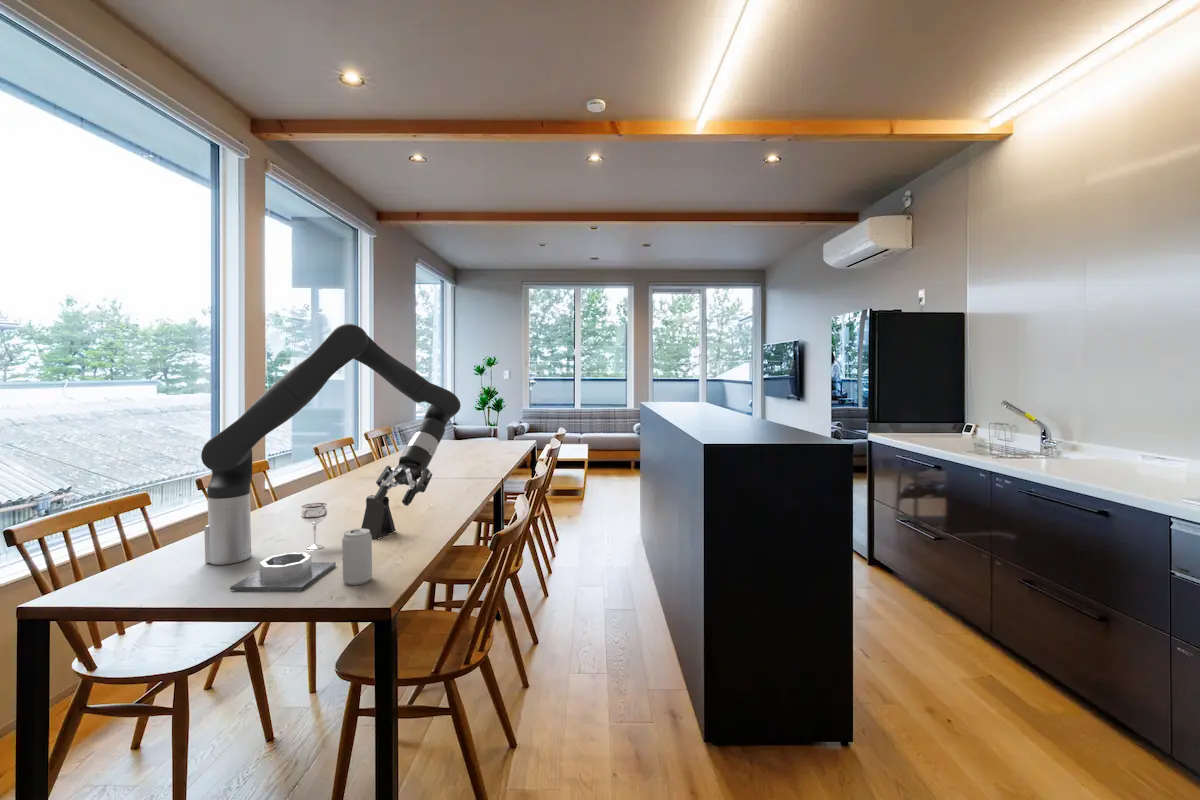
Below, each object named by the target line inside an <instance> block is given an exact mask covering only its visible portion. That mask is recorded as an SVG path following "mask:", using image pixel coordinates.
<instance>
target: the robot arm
mask: <svg viewBox="0 0 1200 800" xmlns="http://www.w3.org/2000/svg"><path fill="white" fill-rule="evenodd" d="M366 332H367V331H365V330H364V329H363V328H362V327H361V326H359V325H357V324H354V323H344V324H340V325H337V327H335V328H334V329H333V330H332V332H331V333H330V334H329V335H328V336H327V338H326V339H325V340H324V341H322V343H321V344H320V345H319V346H318V348H317V349H315V350H314V351H313V352H312V353H311V354H310V355H309V356H308V357H307V358H305V359H303V360H301V362H299V363H297V365H295V366H294V367H293V368H292V369H289V371H287V372H286V373H285V374H284V375H283V376H281V377H280V378H279V379H278V380H276V381H275V382H274V383H273V384H272V385H271V386H270V387H269V388H268V389H267V390H266V391H265V392H264V393H262V395H261V396H259V398H258V399H257V400H256V401H255V402H253V403H252V404H251V405H250V407H248V409H246V411H245V412H243V414H242V415H241V416H240V417H239V418H237V420H236V421H234V422H233V423H231V424H230V425H228V426H227V427H226V428H225V429H223V430H222V431H220V432H219V433H217V434H216V435H214V436H213V437H212V438H210V439H209V440H208V441H207V442H206V443H205V444H204V446H203V448H202V450H201V455H200V457H201V462H202V464H203V465H204V467H206V468H207V469H209V470H210V471H211V479H210V482H209V483H208V486H207V489H206V490H207V491H206V493H207V494H206V496H207V520H208V521H207V524H206V525H205V526H204V527H203V530H204V562H205V563H207V564H211V565H215V566H217V565H219V566H220V565H221V566H223V565H230V564H236V563H240V562H243V561H246V560H248V559H250V558H251V557H252V527H251V526H252V525H251V523H252V522H251V519H252V518H251V493H250V492H251V483H252V480H253V448H254V447H255V445H256V444H258V443H259V442H260V441H261V440H262V439H263V438H264V437H265V436H266V435H268V434H269V433H271V432H273V431H274V430H275V429H277V428H279V427H280V426H281V425H283V424H285V423H286V422H287V421H289V420H290V419H291V418H293V417H294V416H295V415H296V414H297V413H299V412H300V411H302V409H303V408H304V407H306V405H308V404H309V403H310V401H312V400H313V399H314V398H315V397H316V396H317V394H318V393H319V392H321V390H322V388H323V387H324V386H325V385H326V384H327V382H328V381H329V380H330V378H331V377H333V375H334V374H335V373H336V372H337V371H339V370H340V369H342V368H343V367H344V366H345V365H347V364H348V363H349V362H351V361H352V360H355V361H357V362H359V363H361V364H363V365H364V366H367V368H370V369H371V370H373V371H374V372H375V373H377V374H378V375H379V376H380V377H382V379H384V380H385V381H386V382H387V383H389V384H390V385H391V386H392V387H393V388H395V389H396V390H397V391H399V392H400V393H401V394H403V395H404V396H406V397H407V398H409V399H410V400H412V401H413V402H415V403H417V404H420V403H428V404H430V405H429V406H428V408H427V410H426V411H425V415H424V416H423V420H422V422H421V423H420V425H419V426H418V428H417V430H416V432H415V433H414V435H413V436H412V437H411V438H410V439H409V442H408V443H407V445H406V446H405V448H404V450H403V451H402V453H401V455H400V457H399V460H398V465H397V466H396V467H392V466H390V465H386V466H385V467H384V469H383V471H382V472H381V474H380V475H379V476H378V479H377V480H376V481H375V484H376V485H377V486H378V487H379V489H378V490H377V491H376V494H375V495H374V496H375V500H376V501H377V502H378V503H381V502H382V501H383V499H384V497H387V494H388V491H389V490H391V489H392V488H396V487H397V486H399V485H400V486H403V485H405V486H409V488H408V489H407V491H406V492H405V494H404V496H403V498H402V500H401V503H402V504H403V505H404V506H409V505H410V504H411V503H412V501H413V500H414V498H415V496H416V495H417V494H419V493H420V492H421V493H424V492H425V491H426V490H427V487H428V486H429V483H430V481H431V479H432V476H433V473H432V472H431V471H430V469H429V468H428V467H429V465H430V463H431V461H432V459H433V458H434V455H435V453H436V452H437V449H438V446H439V444H440V443H441V440H442V439H443V436H444V434H445V432H446V425H447V424H448V422H449V421H450V419H451V418H453V417H454V416H456V415H457V414H458V413H459V411H460V409H461V401H460V399H459V397H458V396H457V395H456V394H455V393H453V392H452V391H450V390H448V389H447V388H444V387H441V386H440V385H437V384H434V383H432V382H430V381H429V380H427V379H425V378H424V377H423V376H421V375H420V374H419V373H417V372H416V371H414V370H413V369H411V368H410V367H409V366H407V365H405V364H404V363H402V362H401V361H399V360H398V359H396V358H395V357H393V356H391V355H390V354H389V353H388V352H386V351H385V350H384V349H382V348H381V347H380V346H379V345H378V344H377V343H376V342H375V341H374V340H373V339H372V338H371V337H370V336H369V335H368V334H367V333H366Z"/></svg>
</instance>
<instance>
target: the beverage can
mask: <svg viewBox="0 0 1200 800" xmlns="http://www.w3.org/2000/svg"><path fill="white" fill-rule="evenodd" d="M341 539H342V540H341V546H342V547H341V549H342V550H341V552H342V554H341V555H342V556H341V557H342V559H341V560H342V561H341V562H342V582H343V583H345V584H346V585H349V586H360V585H364V584H366V583H368V582H369V581H370V579H372V577H373V549H372V548H373V547H372V546H373V545H372V544H373V541H372V540H373V539H372V535H371V534H370V530H369V529H361V528H353V529H349V530H346V531H344V532H343V536H342V538H341ZM363 583H364V584H363ZM359 584H360V585H359Z"/></svg>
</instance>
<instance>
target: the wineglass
mask: <svg viewBox="0 0 1200 800" xmlns="http://www.w3.org/2000/svg"><path fill="white" fill-rule="evenodd" d="M327 506H328V503H326V502H311V503H306V504H303V505H301V506H300V508H301V512H300V517H301V519H302V520H303V521H304V522H306V524H310V525H311V526H312V531H313V544H312V545H309V546H307V549H310V550H309V551H312V550H311V549H317V550H320V549H319V548H321V549H323V548H322V547H324V546H325V545H324V544H320V543H319V544H317V541H316V540H317V526H318V524H319V523H321V522H323V521H324V520H325V519H326V518H327V516H328V510H329V509H328V508H327ZM323 545H324V546H323ZM324 548H325V547H324Z"/></svg>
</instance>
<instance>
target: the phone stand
mask: <svg viewBox="0 0 1200 800" xmlns="http://www.w3.org/2000/svg"><path fill="white" fill-rule="evenodd" d="M365 499H366V500H365V504H366V505H365V509H364V510H365V511H364V515H363V519H362V524H361V528H360V529H369V530H370V534H371V535H372V540H373V539H377V540H379V539H378V538H380V537H382V538H384V537H383V536H385V535H387V536H389V535H391V534H390V533H392V532H394V531H397V530H396V527H395V523H394V518H393V517H392V512H391V508H390V499H389V497H388V496H385V497H384V499H383V501H382V502H381V503H378V502H377V501H376V500H375V495H368V496H367V497H366V498H365ZM394 533H395V532H394ZM388 534H389V535H388ZM392 534H393V533H392ZM385 537H386V536H385ZM380 539H381V538H380Z"/></svg>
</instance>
